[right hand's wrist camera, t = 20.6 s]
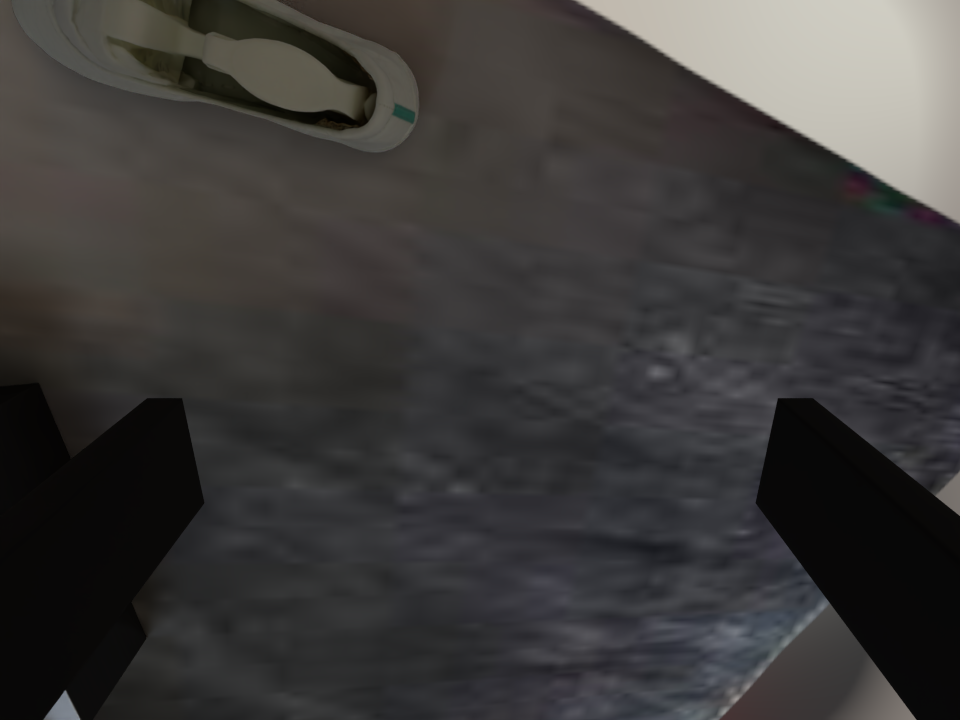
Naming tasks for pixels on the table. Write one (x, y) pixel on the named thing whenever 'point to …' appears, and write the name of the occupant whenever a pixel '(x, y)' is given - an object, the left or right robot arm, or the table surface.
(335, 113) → the ballet flat
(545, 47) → the table surface
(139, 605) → the table surface
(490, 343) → the table surface
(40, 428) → the bar
